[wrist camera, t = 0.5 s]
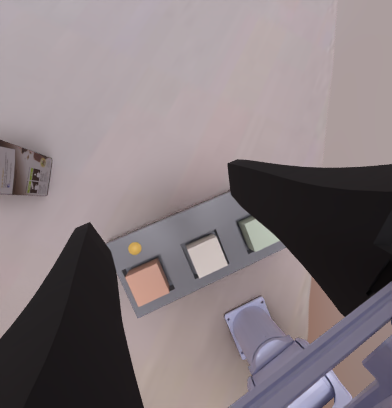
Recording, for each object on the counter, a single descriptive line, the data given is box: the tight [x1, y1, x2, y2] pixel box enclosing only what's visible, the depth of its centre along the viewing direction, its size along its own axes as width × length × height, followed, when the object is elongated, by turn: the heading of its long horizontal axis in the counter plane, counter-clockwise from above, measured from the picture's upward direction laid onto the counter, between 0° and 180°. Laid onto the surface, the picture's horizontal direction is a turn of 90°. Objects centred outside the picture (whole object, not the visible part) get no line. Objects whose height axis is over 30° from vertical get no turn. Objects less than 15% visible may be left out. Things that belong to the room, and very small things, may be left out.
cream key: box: [186, 234, 228, 279], centre depth 33 cm, size 5×5×3 cm
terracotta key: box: [125, 258, 170, 307], centre depth 31 cm, size 5×5×3 cm
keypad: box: [106, 191, 286, 318], centre depth 34 cm, size 13×28×3 cm, turn 112°
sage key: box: [238, 216, 280, 252], centre depth 34 cm, size 5×5×3 cm
